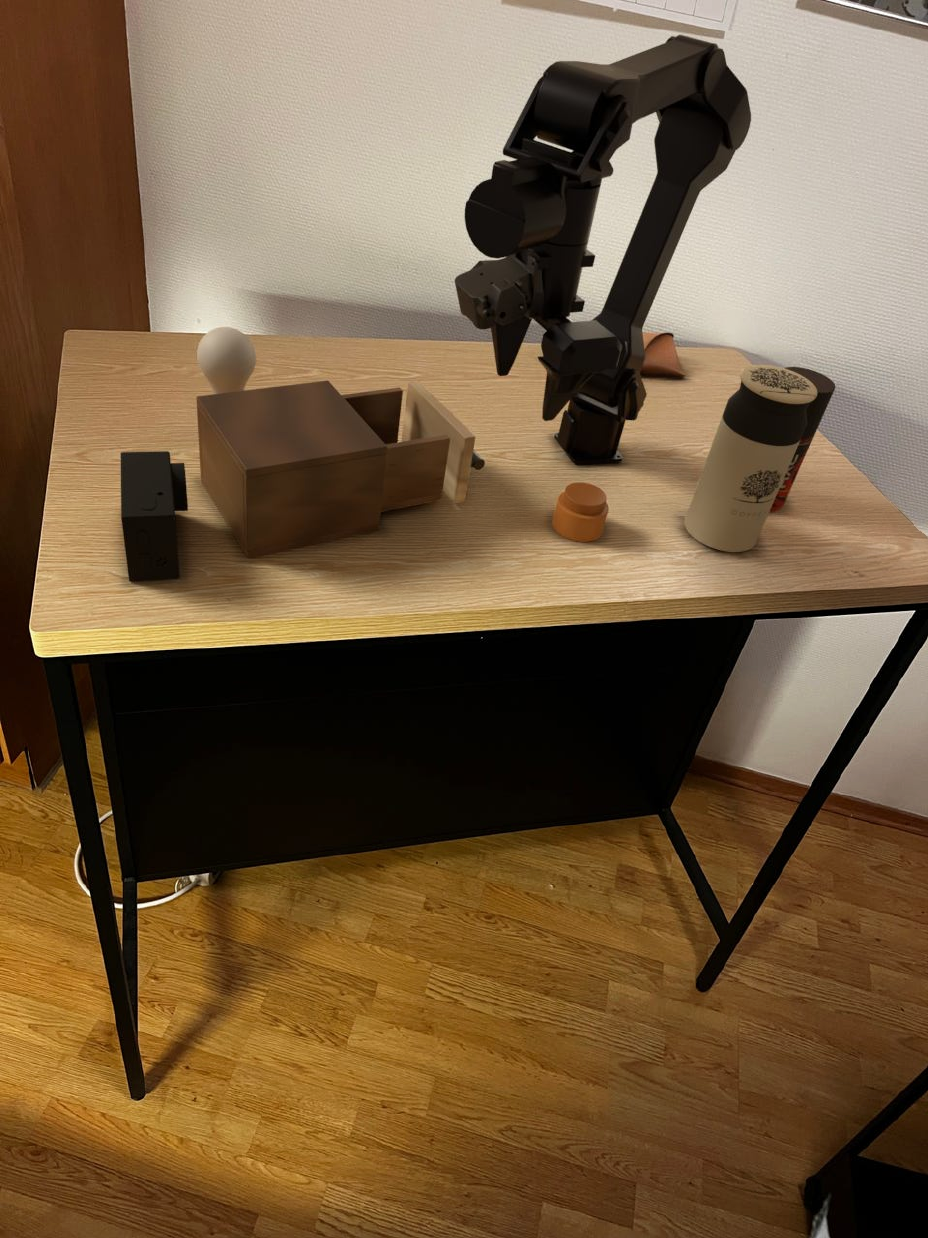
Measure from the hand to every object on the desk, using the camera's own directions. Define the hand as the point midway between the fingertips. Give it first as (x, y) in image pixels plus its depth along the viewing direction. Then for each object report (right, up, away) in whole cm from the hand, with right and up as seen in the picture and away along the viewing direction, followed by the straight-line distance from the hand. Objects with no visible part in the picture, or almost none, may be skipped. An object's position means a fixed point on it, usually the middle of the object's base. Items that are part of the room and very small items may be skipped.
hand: (524, 396), depth 88 cm
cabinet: (-24, -11, +2) cm, 26 cm away
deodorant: (+29, -8, +17) cm, 34 cm away
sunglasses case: (+16, +14, +40) cm, 46 cm away
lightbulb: (-32, 0, +13) cm, 35 cm away
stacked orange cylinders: (+6, -12, +7) cm, 15 cm away
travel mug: (+22, -13, +10) cm, 27 cm away
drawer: (-13, -7, +8) cm, 16 cm away
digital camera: (-34, -15, -5) cm, 38 cm away
